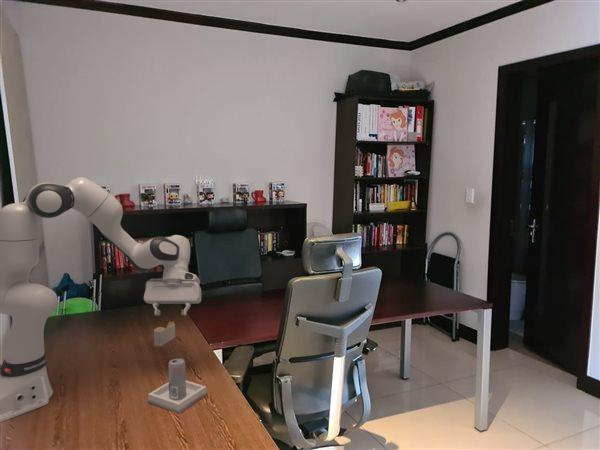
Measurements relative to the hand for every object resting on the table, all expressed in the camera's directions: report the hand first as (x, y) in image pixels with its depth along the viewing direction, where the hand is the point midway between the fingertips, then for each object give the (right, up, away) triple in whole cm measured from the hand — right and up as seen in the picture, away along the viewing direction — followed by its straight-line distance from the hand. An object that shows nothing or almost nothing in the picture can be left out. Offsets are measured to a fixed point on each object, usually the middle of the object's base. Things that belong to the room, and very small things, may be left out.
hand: (170, 315), depth 163 cm
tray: (+6, -25, -12) cm, 28 cm away
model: (-12, -19, +35) cm, 42 cm away
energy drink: (+6, -24, -12) cm, 28 cm away
